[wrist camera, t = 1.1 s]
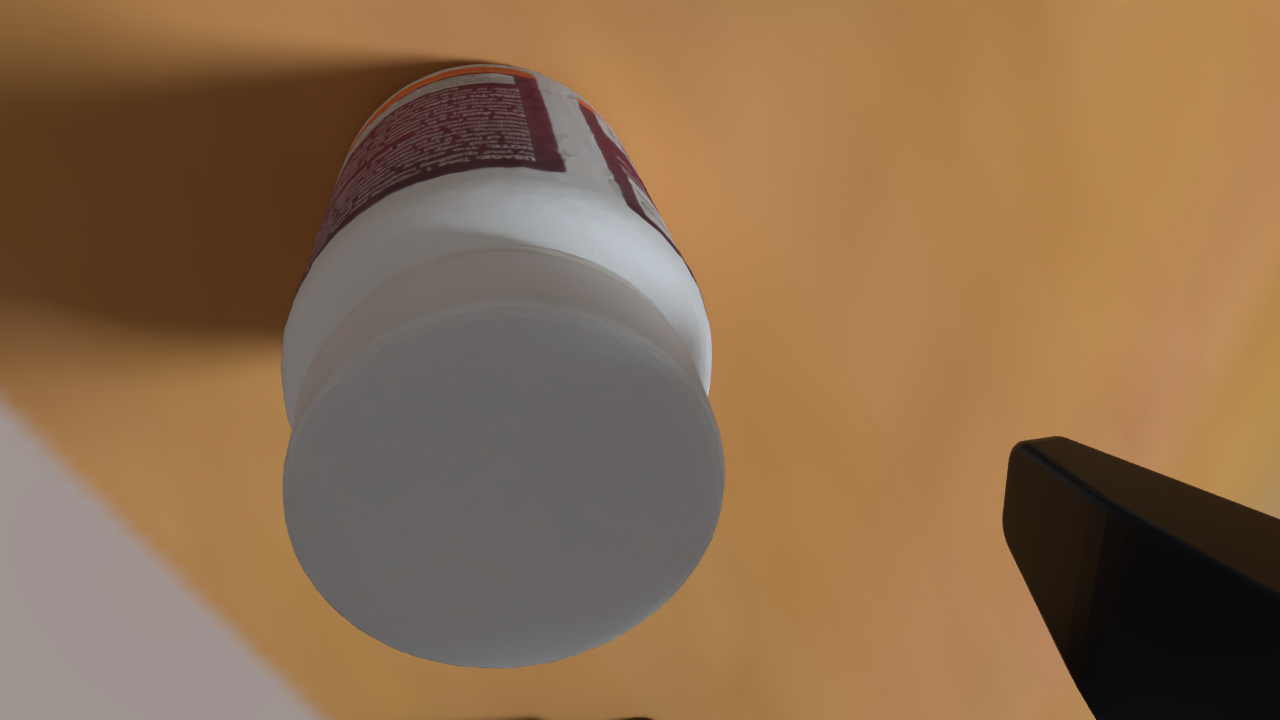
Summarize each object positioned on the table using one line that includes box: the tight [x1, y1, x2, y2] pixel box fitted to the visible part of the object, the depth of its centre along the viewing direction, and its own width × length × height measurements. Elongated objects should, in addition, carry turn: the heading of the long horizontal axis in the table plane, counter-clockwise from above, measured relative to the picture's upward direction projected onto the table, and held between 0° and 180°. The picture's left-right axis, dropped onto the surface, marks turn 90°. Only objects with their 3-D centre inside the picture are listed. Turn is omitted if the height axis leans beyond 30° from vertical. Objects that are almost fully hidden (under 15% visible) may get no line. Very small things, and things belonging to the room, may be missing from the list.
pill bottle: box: [281, 64, 725, 669], centre depth 13 cm, size 5×5×8 cm
